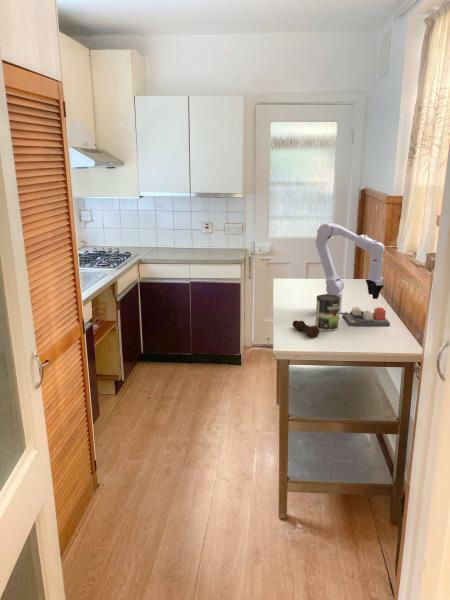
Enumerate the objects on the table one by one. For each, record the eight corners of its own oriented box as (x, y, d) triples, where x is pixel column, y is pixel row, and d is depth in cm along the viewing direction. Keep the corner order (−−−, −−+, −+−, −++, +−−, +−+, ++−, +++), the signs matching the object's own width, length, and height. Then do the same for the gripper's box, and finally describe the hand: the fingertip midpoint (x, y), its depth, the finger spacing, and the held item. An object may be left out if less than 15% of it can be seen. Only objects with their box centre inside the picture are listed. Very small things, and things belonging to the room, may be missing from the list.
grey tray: (349, 325, 219) (350, 320, 218) (342, 315, 233) (342, 310, 232) (389, 326, 218) (390, 320, 218) (379, 315, 233) (380, 311, 232)
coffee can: (343, 328, 215) (345, 298, 211) (324, 332, 210) (326, 301, 206) (328, 322, 224) (329, 293, 220) (310, 325, 219) (311, 295, 215)
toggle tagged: (365, 320, 220) (366, 313, 219) (362, 317, 225) (363, 310, 224) (372, 320, 220) (372, 313, 219) (369, 317, 225) (369, 310, 224)
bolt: (296, 331, 218) (315, 340, 204) (288, 327, 215) (306, 336, 202) (301, 319, 218) (321, 328, 204) (293, 315, 215) (312, 324, 202)
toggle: (354, 316, 226) (355, 309, 225) (351, 313, 231) (352, 306, 230) (360, 316, 226) (361, 309, 225) (358, 313, 231) (358, 306, 230)
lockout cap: (376, 321, 220) (377, 309, 219) (373, 318, 224) (374, 306, 223) (384, 321, 220) (385, 309, 219) (382, 318, 224) (383, 306, 223)
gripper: (388, 272, 217) (385, 300, 221) (379, 265, 231) (377, 292, 235) (373, 271, 218) (370, 300, 221) (365, 265, 232) (362, 292, 235)
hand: (373, 296), depth 228 cm, fingers open, 7 cm apart
